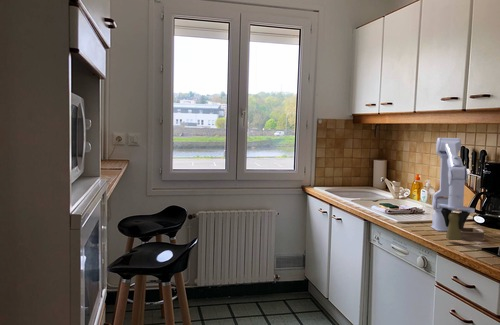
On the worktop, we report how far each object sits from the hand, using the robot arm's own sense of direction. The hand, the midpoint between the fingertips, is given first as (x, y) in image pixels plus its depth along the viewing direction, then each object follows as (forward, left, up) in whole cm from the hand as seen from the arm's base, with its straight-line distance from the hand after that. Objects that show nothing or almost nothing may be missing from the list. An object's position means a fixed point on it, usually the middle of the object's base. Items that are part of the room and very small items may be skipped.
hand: (454, 227), depth 179 cm
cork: (0, 0, -5) cm, 5 cm away
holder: (-10, +10, -6) cm, 16 cm away
